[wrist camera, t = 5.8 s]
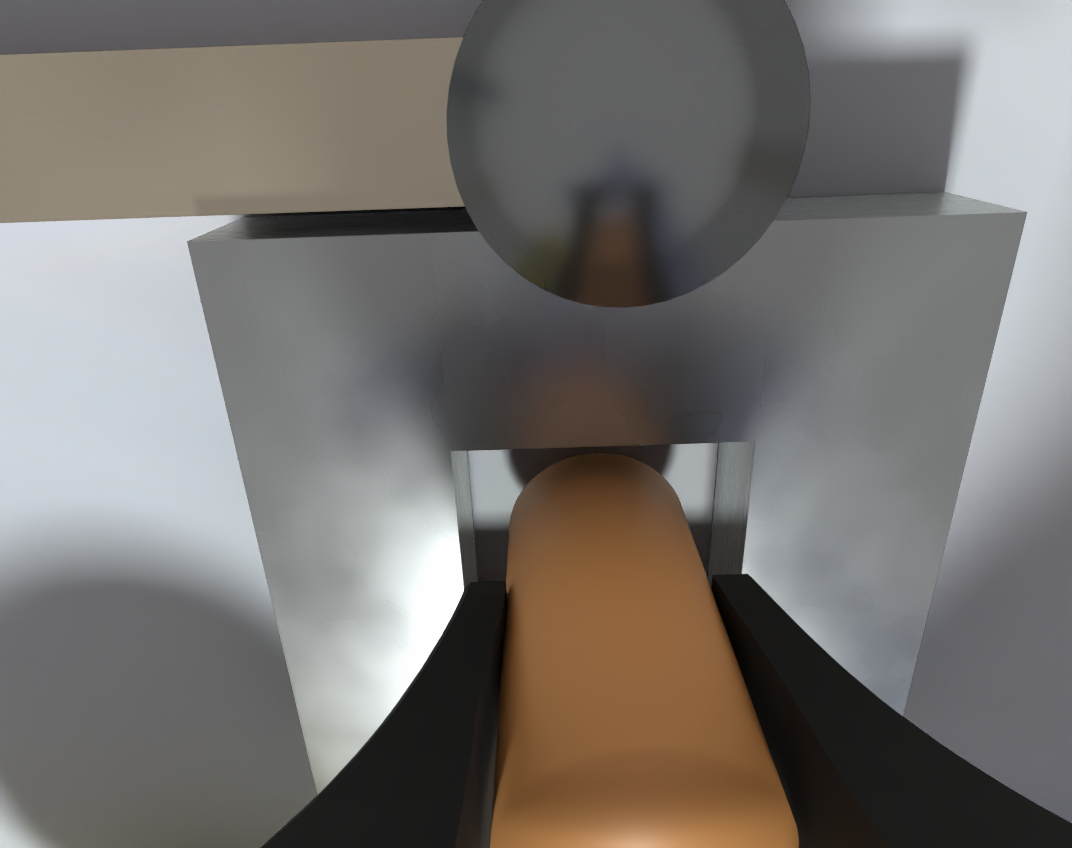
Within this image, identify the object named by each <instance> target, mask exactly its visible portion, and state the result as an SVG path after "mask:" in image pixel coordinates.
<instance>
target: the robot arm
mask: <svg viewBox="0 0 1072 848" xmlns="http://www.w3.org/2000/svg"><path fill="white" fill-rule="evenodd" d="M711 589H712V592H713V595H714V598H715V601H716V603H717V606H718V609H719V612H720V614H721V617H722V620H723V623H724V626H725V628H726V631H727V634H728V637H729V639H730V642H731V645H732V648H733V651H734V653H735V656H736V659H737V662H738V664H739V667H740V670H741V673H742V676H743V678H744V681H745V684H746V687H747V689H748V692H749V695H750V698H751V701H752V703H753V706H754V709H755V712H756V714H757V717H758V720H759V723H760V726H761V728H762V731H763V734H764V737H765V739H766V742H767V745H768V748H769V751H770V753H771V756H772V759H773V762H774V764H775V767H776V770H777V773H778V776H779V778H780V781H781V784H782V787H783V789H784V792H785V795H786V798H787V801H788V803H789V806H790V809H791V812H792V814H793V817H794V820H795V823H796V826H797V830H798V837H799V848H1072V823H1070V822H1068V821H1066V820H1064V819H1063V818H1061V817H1059V816H1057V815H1055V814H1054V813H1052V812H1050V811H1048V810H1046V809H1044V808H1043V807H1041V806H1039V805H1037V804H1036V803H1034V802H1032V801H1030V800H1029V799H1027V798H1025V797H1024V796H1022V795H1020V794H1019V793H1017V792H1015V791H1013V790H1012V789H1010V788H1008V787H1007V786H1005V785H1003V784H1002V783H1000V782H999V781H997V780H995V779H994V778H992V777H991V776H989V775H988V774H986V773H984V772H983V771H981V770H980V769H978V768H977V767H975V766H973V765H972V764H970V763H969V762H967V761H966V760H964V759H962V758H961V757H959V756H958V755H956V754H955V753H953V752H952V751H950V750H949V749H948V748H946V747H945V746H943V745H942V744H940V743H939V742H937V741H936V740H934V739H933V738H932V737H930V736H929V735H928V734H926V733H925V732H924V731H922V730H921V729H919V728H918V727H917V726H915V725H914V724H913V723H911V722H910V721H909V720H907V719H906V718H904V717H903V716H902V715H900V714H899V713H898V712H896V711H895V710H894V709H893V708H891V707H890V706H889V705H887V704H886V703H885V702H884V701H882V700H881V699H880V698H879V697H877V696H876V695H875V694H874V693H873V692H871V691H870V690H869V689H868V688H867V687H865V686H864V685H863V684H862V683H861V682H860V681H858V680H857V679H856V678H855V677H854V676H852V675H851V674H850V673H849V672H848V671H847V670H846V669H844V668H843V667H842V666H841V665H840V664H839V663H838V662H837V661H836V660H835V659H833V658H832V657H831V656H830V655H829V654H828V653H827V652H826V651H825V650H824V649H823V648H822V647H821V646H820V645H819V644H818V643H816V642H815V641H814V640H813V639H812V638H811V637H810V636H809V635H808V634H807V633H806V632H805V631H804V630H803V629H802V628H801V627H800V626H799V625H798V624H797V623H796V622H795V621H794V620H793V619H792V618H791V617H790V616H789V615H788V614H787V613H786V612H785V611H784V610H783V609H782V608H781V607H780V606H779V605H778V604H777V603H776V602H775V601H774V600H773V599H772V598H771V597H770V595H769V594H768V593H767V592H766V591H765V590H764V589H763V588H762V587H761V586H760V585H759V584H758V583H757V582H756V581H755V580H754V579H753V578H752V577H751V576H750V575H749V574H724V575H712V587H711ZM506 602H507V590H506V581H483V582H470V583H469V584H468V585H467V586H466V587H465V589H464V591H463V593H462V596H461V598H460V600H459V602H458V605H457V607H456V609H455V611H454V613H453V615H452V617H451V619H450V620H449V622H448V624H447V626H446V628H445V630H444V631H443V633H442V635H441V637H440V638H439V640H438V642H437V643H436V645H435V647H434V648H433V650H432V652H431V653H430V655H429V657H428V658H427V660H426V661H425V663H424V665H423V666H422V668H421V669H420V671H419V672H418V674H417V675H416V677H415V678H414V680H413V681H412V682H411V684H410V685H409V687H408V688H407V690H406V691H405V692H404V694H403V695H402V697H401V698H400V700H399V701H398V702H397V704H396V705H395V707H394V708H393V709H392V711H391V712H390V713H389V715H388V716H387V717H386V718H385V720H384V721H383V722H382V724H381V725H380V726H379V727H378V729H377V730H376V731H375V732H374V734H373V735H372V736H371V737H370V738H369V739H368V741H367V742H366V743H365V744H364V745H363V747H362V748H361V749H360V750H359V751H358V752H357V754H356V755H355V756H354V757H353V758H352V759H351V760H350V761H349V762H348V763H347V764H346V766H345V767H344V768H343V769H342V770H341V771H340V772H339V773H338V774H337V775H336V776H335V777H334V779H333V780H332V781H331V782H330V783H329V784H328V785H327V786H326V787H325V788H324V789H323V790H322V791H321V792H320V793H319V794H318V795H317V796H316V797H315V798H314V799H313V800H312V801H311V802H310V803H309V804H308V805H307V806H306V807H305V808H304V809H302V810H301V811H300V812H299V813H298V814H297V815H296V816H295V817H294V818H293V819H291V820H290V821H289V822H288V823H287V824H286V825H285V826H284V827H283V828H282V829H281V830H279V831H278V832H277V833H276V834H275V835H274V836H273V837H272V838H271V839H270V840H268V841H267V842H266V843H265V844H264V845H263V846H262V847H261V848H490V841H491V824H492V808H493V791H494V774H495V758H496V741H497V724H498V708H499V691H500V676H501V666H502V655H503V645H504V637H505V620H506Z"/></svg>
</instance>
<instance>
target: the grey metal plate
mask: <svg viewBox="0 0 1072 848" xmlns="http://www.w3.org/2000/svg"><path fill="white" fill-rule="evenodd" d="M809 116H810V84H809V72H808V66H807V61H806V56H805V51H804V46H803V43H802V40H801V37H800V34H799V32H798V29H797V26H796V23H795V20H794V18H793V16H792V14H791V12H790V10H789V8H788V6H787V4H786V2H785V0H483V2H482V3H481V5H480V6H479V8H478V9H477V11H476V13H475V14H474V16H473V18H472V20H471V22H470V24H469V26H468V28H467V30H466V32H465V34H464V37H451V38H426V39H400V40H374V41H348V42H322V43H296V44H270V45H244V46H218V47H192V48H166V49H140V50H114V51H88V52H62V53H36V54H10V55H0V223H12V222H40V221H69V220H97V219H125V218H153V217H181V216H209V215H237V214H265V213H293V212H321V211H349V210H377V209H405V208H433V207H461V206H465V208H466V209H463V210H435V211H407V212H379V213H351V214H323V215H295V216H267V217H243V218H241V219H239V220H236V221H234V222H232V223H229V224H227V225H225V226H222V227H220V228H218V229H215V230H213V231H211V232H208V233H206V234H204V235H201V236H199V237H197V238H194V239H192V240H190V241H187V243H188V248H189V252H190V256H191V260H192V265H193V269H194V273H195V277H196V282H197V286H198V290H199V294H200V299H201V303H202V307H203V311H204V316H205V320H206V324H207V328H208V333H209V337H210V341H211V345H212V350H213V354H214V358H215V362H216V367H217V371H218V375H219V379H220V384H221V388H222V392H223V396H224V401H225V405H226V409H227V413H228V418H229V422H230V426H231V430H232V435H233V439H234V443H235V447H236V452H237V456H238V460H239V464H240V469H241V473H242V477H243V481H244V486H245V490H246V494H247V498H248V503H249V507H250V511H251V515H252V520H253V524H254V528H255V532H256V537H257V541H258V545H259V549H260V554H261V558H262V562H263V566H264V571H265V575H266V579H267V583H268V588H269V592H270V596H271V600H272V605H273V609H274V613H275V617H276V622H277V626H278V630H279V634H280V639H281V643H282V647H283V651H284V656H285V660H286V664H287V668H288V673H289V677H290V681H291V685H292V690H293V694H294V698H295V702H296V707H297V711H298V715H299V719H300V724H301V728H302V732H303V736H304V741H305V745H306V749H307V753H308V758H309V762H310V766H311V770H312V775H313V779H314V783H315V787H316V792H317V795H318V794H319V793H320V792H321V791H322V790H323V789H324V788H325V787H326V786H327V785H328V784H329V783H330V782H331V781H332V780H333V779H334V777H335V776H336V775H337V774H338V773H339V772H340V771H341V770H342V769H343V768H344V767H345V766H346V764H347V763H348V762H349V761H350V760H351V759H352V758H353V757H354V756H355V755H356V754H357V752H358V751H359V750H360V749H361V748H362V747H363V745H364V744H365V743H366V742H367V741H368V739H369V738H370V737H371V736H372V735H373V734H374V732H375V731H376V730H377V729H378V727H379V726H380V725H381V724H382V722H383V721H384V720H385V718H386V717H387V716H388V715H389V713H390V712H391V711H392V709H393V708H394V707H395V705H396V704H397V702H398V701H399V700H400V698H401V697H402V695H403V694H404V692H405V691H406V690H407V688H408V687H409V685H410V684H411V682H412V681H413V680H414V678H415V677H416V675H417V674H418V672H419V671H420V669H421V668H422V666H423V665H424V663H425V661H426V660H427V658H428V657H429V655H430V653H431V652H432V650H433V648H434V647H435V645H436V643H437V642H438V640H439V638H440V637H441V635H442V633H443V631H444V630H445V628H446V626H447V624H448V622H449V620H450V619H451V617H452V615H453V613H454V611H455V609H456V607H457V605H458V602H459V600H460V598H461V596H462V593H463V591H464V589H465V587H466V586H467V585H468V584H469V583H470V582H478V573H477V561H476V549H475V537H474V525H473V513H472V501H471V489H470V477H469V465H468V453H467V451H471V450H503V449H534V448H566V447H598V446H630V445H661V444H693V443H719V449H718V461H717V473H716V485H715V498H714V510H713V522H712V534H711V547H710V559H709V571H708V581H709V584H710V587H712V575H724V574H749V575H750V576H751V577H752V578H753V579H754V580H755V581H756V582H757V583H758V584H759V585H760V586H761V587H762V588H763V589H764V590H765V591H766V592H767V593H768V594H769V595H770V597H771V598H772V599H773V600H774V601H775V602H776V603H777V604H778V605H779V606H780V607H781V608H782V609H783V610H784V611H785V612H786V613H787V614H788V615H789V616H790V617H791V618H792V619H793V620H794V621H795V622H796V623H797V624H798V625H799V626H800V627H801V628H802V629H803V630H804V631H805V632H806V633H807V634H808V635H809V636H810V637H811V638H812V639H813V640H814V641H815V642H816V643H818V644H819V645H820V646H821V647H822V648H823V649H824V650H825V651H826V652H827V653H828V654H829V655H830V656H831V657H832V658H833V659H835V660H836V661H837V662H838V663H839V664H840V665H841V666H842V667H843V668H844V669H846V670H847V671H848V672H849V673H850V674H851V675H852V676H854V677H855V678H856V679H857V680H858V681H860V682H861V683H862V684H863V685H864V686H865V687H867V688H868V689H869V690H870V691H871V692H873V693H874V694H875V695H876V696H877V697H879V698H880V699H881V700H882V701H884V702H885V703H886V704H887V705H889V706H890V707H891V708H893V709H894V710H895V711H896V712H898V713H899V714H900V715H902V716H903V715H904V711H905V707H906V703H907V698H908V694H909V690H910V686H911V682H912V678H913V674H914V670H915V666H916V662H917V658H918V654H919V650H920V646H921V642H922V638H923V633H924V629H925V625H926V621H927V617H928V613H929V609H930V605H931V601H932V597H933V593H934V589H935V585H936V581H937V577H938V573H939V568H940V564H941V560H942V556H943V552H944V548H945V544H946V540H947V536H948V532H949V528H950V524H951V520H952V516H953V512H954V507H955V503H956V499H957V495H958V491H959V487H960V483H961V479H962V475H963V471H964V467H965V463H966V459H967V455H968V451H969V447H970V442H971V438H972V434H973V430H974V426H975V422H976V418H977V414H978V410H979V406H980V402H981V398H982V394H983V390H984V386H985V382H986V377H987V373H988V369H989V365H990V361H991V357H992V353H993V349H994V345H995V341H996V337H997V333H998V329H999V325H1000V321H1001V317H1002V312H1003V308H1004V304H1005V300H1006V296H1007V292H1008V288H1009V284H1010V280H1011V276H1012V272H1013V268H1014V264H1015V260H1016V256H1017V252H1018V247H1019V243H1020V239H1021V235H1022V231H1023V227H1024V223H1025V219H1026V215H1027V212H1025V211H1021V210H1017V209H1012V208H1008V207H1004V206H1000V205H996V204H992V203H988V202H984V201H980V200H975V199H971V198H967V197H963V196H959V195H955V194H951V193H947V192H941V193H913V194H885V195H857V196H829V197H800V198H787V197H788V195H789V192H790V190H791V188H792V185H793V183H794V181H795V178H796V176H797V173H798V170H799V167H800V163H801V160H802V157H803V154H804V150H805V145H806V139H807V133H808V128H809Z"/></svg>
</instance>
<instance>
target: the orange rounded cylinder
mask: <svg viewBox="0 0 1072 848" xmlns="http://www.w3.org/2000/svg"><path fill="white" fill-rule="evenodd" d="M506 590H507V602H506V620H505V637H504V645H503V655H502V666H501V676H500V691H499V708H498V724H497V741H496V758H495V774H494V791H493V808H492V824H491V841H490V848H799V837H798V830H797V826H796V823H795V820H794V817H793V814H792V812H791V809H790V806H789V803H788V801H787V798H786V795H785V792H784V789H783V787H782V784H781V781H780V778H779V776H778V773H777V770H776V767H775V764H774V762H773V759H772V756H771V753H770V751H769V748H768V745H767V742H766V739H765V737H764V734H763V731H762V728H761V726H760V723H759V720H758V717H757V714H756V712H755V709H754V706H753V703H752V701H751V698H750V695H749V692H748V689H747V687H746V684H745V681H744V678H743V676H742V673H741V670H740V667H739V664H738V662H737V659H736V656H735V653H734V651H733V648H732V645H731V642H730V639H729V637H728V634H727V631H726V628H725V626H724V623H723V620H722V617H721V614H720V612H719V609H718V606H717V603H716V601H715V598H714V595H713V592H712V589H711V587H710V584H709V581H708V578H707V576H706V573H705V570H704V567H703V564H702V562H701V559H700V556H699V553H698V550H697V548H696V545H695V542H694V539H693V537H692V534H691V531H690V528H689V525H688V523H687V520H686V517H685V514H684V512H683V509H682V506H681V503H680V501H679V498H678V496H677V494H676V493H675V491H674V489H673V488H672V486H671V485H670V484H669V483H668V481H667V480H666V479H665V478H664V477H663V476H662V475H661V474H660V473H658V472H657V471H656V470H654V469H653V468H651V467H650V466H648V465H646V464H644V463H642V462H641V461H638V460H635V459H633V458H630V457H626V456H622V455H618V454H610V453H590V454H582V455H577V456H573V457H570V458H567V459H564V460H561V461H559V462H557V463H555V464H553V465H551V466H549V467H547V468H546V469H544V470H543V471H541V472H540V473H539V474H538V475H536V476H535V477H534V478H533V479H532V480H531V481H530V482H529V483H528V484H527V485H526V486H525V488H524V489H523V490H522V492H521V493H520V495H519V496H518V498H517V501H516V503H515V505H514V507H513V510H512V514H511V518H510V525H509V541H508V558H507V574H506Z"/></svg>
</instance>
